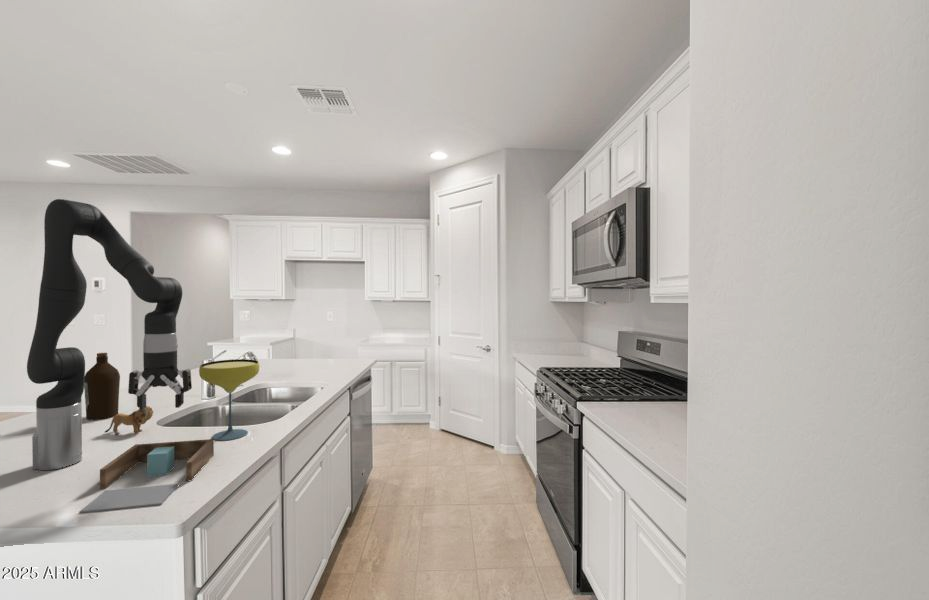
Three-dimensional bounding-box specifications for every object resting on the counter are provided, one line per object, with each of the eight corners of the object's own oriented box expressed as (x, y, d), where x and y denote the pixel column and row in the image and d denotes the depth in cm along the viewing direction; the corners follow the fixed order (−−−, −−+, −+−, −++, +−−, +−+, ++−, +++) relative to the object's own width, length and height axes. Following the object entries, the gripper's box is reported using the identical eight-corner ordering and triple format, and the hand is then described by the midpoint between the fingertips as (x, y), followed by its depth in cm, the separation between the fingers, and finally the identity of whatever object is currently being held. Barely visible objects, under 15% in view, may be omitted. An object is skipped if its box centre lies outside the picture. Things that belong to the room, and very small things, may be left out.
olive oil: (121, 411, 168) (121, 350, 168) (118, 417, 160) (118, 353, 159) (86, 415, 162) (86, 352, 161) (81, 422, 153) (81, 356, 153)
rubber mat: (79, 513, 93) (79, 511, 93) (105, 492, 102) (105, 490, 102) (161, 504, 97) (161, 503, 97) (179, 485, 106) (178, 483, 106)
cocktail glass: (216, 426, 151) (216, 359, 150) (267, 426, 152) (267, 359, 152) (187, 445, 133) (187, 368, 132) (245, 444, 134) (245, 368, 134)
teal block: (147, 476, 111) (147, 454, 111) (156, 468, 116) (156, 447, 116) (166, 474, 112) (166, 453, 112) (174, 467, 117) (174, 446, 117)
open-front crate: (99, 489, 104) (99, 469, 104) (135, 461, 120) (135, 444, 120) (191, 480, 109) (191, 462, 109) (213, 455, 125) (213, 439, 125)
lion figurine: (156, 428, 148) (156, 404, 148) (148, 433, 143) (148, 408, 143) (108, 431, 145) (108, 406, 145) (99, 436, 140) (98, 410, 139)
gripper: (122, 352, 108) (123, 413, 108) (184, 350, 111) (184, 410, 112) (137, 348, 115) (137, 405, 115) (195, 347, 119) (195, 402, 119)
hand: (160, 407), depth 114 cm, fingers open, 8 cm apart
